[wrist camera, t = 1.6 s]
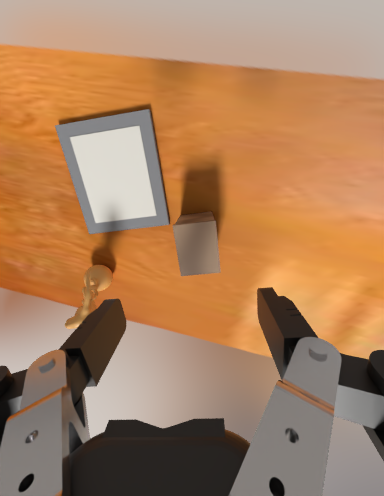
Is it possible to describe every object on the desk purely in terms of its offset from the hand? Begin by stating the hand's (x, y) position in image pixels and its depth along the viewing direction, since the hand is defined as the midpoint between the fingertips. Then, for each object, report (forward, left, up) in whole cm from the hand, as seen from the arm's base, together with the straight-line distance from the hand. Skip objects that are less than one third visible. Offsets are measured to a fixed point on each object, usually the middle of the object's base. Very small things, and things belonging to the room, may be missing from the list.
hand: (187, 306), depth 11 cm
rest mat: (+10, -8, -18) cm, 22 cm away
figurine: (+15, +6, -18) cm, 24 cm away
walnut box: (0, +1, -18) cm, 18 cm away
